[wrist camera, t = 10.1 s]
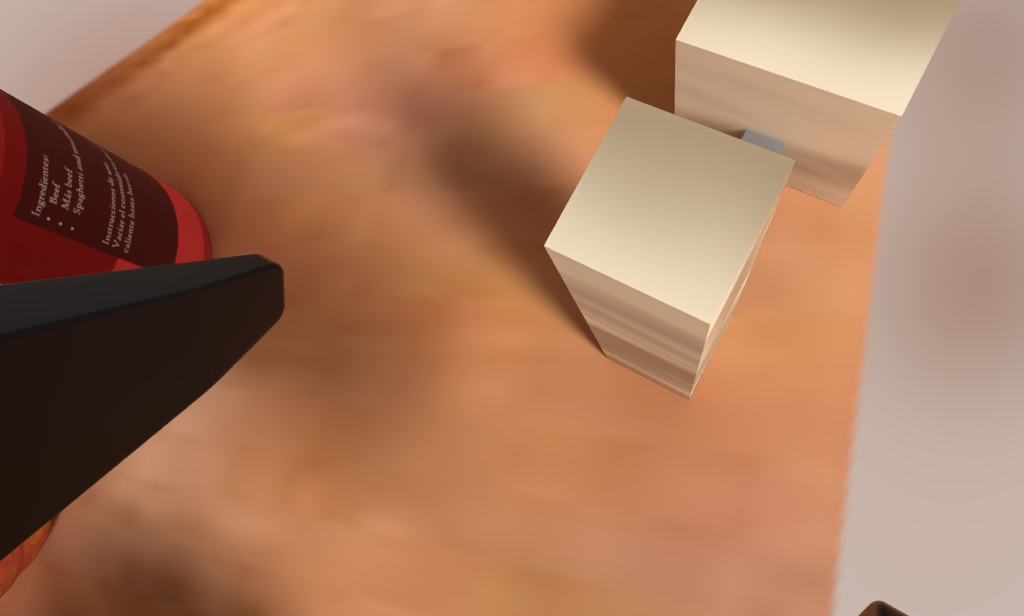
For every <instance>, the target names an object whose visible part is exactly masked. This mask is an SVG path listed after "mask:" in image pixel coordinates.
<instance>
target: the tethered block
mask: <svg viewBox="0 0 1024 616" xmlns="http://www.w3.org/2000/svg"><path fill="white" fill-rule="evenodd" d="M959 1H960V0H697V2H696V4H695V5H694V7H693V9H692V11H691V13H690V15H689V16H688V18H687V20H686V22H685V24H684V25H683V27H682V29H681V31H680V33H679V35H678V36H677V38H676V53H675V115H674V114H672V113H669V112H666V111H664V110H661V109H658V108H656V107H653V106H650V105H648V104H645V103H642V102H640V101H637V100H634V99H632V98H629V97H627V96H626V98H625V100H624V102H623V104H622V106H621V107H620V109H619V111H618V113H617V115H616V116H615V118H614V120H613V122H612V124H611V125H610V127H609V129H608V131H607V133H606V134H605V136H604V138H603V140H602V142H601V143H600V145H599V147H598V149H597V151H596V153H595V154H594V156H593V158H592V160H591V162H590V163H589V165H588V167H587V169H586V171H585V172H584V174H583V176H582V178H581V180H580V181H579V183H578V185H577V187H576V189H575V190H574V192H573V194H572V196H571V198H570V200H569V201H568V203H567V205H566V207H565V209H564V210H563V212H562V214H561V216H560V218H559V219H558V221H557V223H556V225H555V227H554V228H553V230H552V232H551V234H550V236H549V237H548V239H547V241H546V243H545V245H544V247H545V249H546V251H547V252H548V254H549V256H550V258H551V259H552V261H553V263H554V265H555V267H556V268H557V270H558V272H559V274H560V275H561V277H562V279H563V281H564V283H565V284H566V286H567V288H568V290H569V291H570V293H571V295H572V297H573V299H574V300H575V302H576V304H577V306H578V308H579V309H580V311H581V313H582V315H583V316H584V318H585V320H586V322H587V324H588V325H589V327H590V329H591V331H592V332H593V334H594V336H595V338H596V340H597V341H598V343H599V345H600V347H601V349H602V350H603V352H604V354H605V356H606V357H607V358H608V359H610V360H612V361H614V362H616V363H618V364H620V365H622V366H624V367H626V368H628V369H629V370H631V371H633V372H635V373H637V374H639V375H641V376H643V377H645V378H647V379H649V380H651V381H653V382H655V383H657V384H659V385H661V386H663V387H664V388H666V389H668V390H670V391H672V392H674V393H676V394H678V395H680V396H682V397H684V398H686V399H688V400H689V399H690V397H691V395H692V393H693V391H694V389H695V387H696V385H697V383H698V381H699V380H700V378H701V376H702V374H703V372H704V370H705V368H706V366H707V364H708V362H709V360H710V358H711V356H712V354H713V352H714V350H715V348H716V347H717V345H718V343H719V341H720V339H721V337H722V335H723V333H724V331H725V329H726V327H727V325H728V323H729V321H730V319H731V317H732V314H733V312H734V310H735V307H736V305H737V302H738V300H739V297H740V295H741V292H742V290H743V288H744V285H745V283H746V280H747V278H748V275H749V273H750V270H751V268H752V266H753V263H754V261H755V258H756V256H757V253H758V251H759V249H760V246H761V244H762V241H763V239H764V236H765V234H766V231H767V229H768V227H769V224H770V222H771V219H772V217H773V214H774V212H775V209H776V207H777V205H778V202H779V200H780V197H781V195H782V192H783V190H784V187H785V185H786V186H789V187H791V188H794V189H796V190H799V191H801V192H804V193H807V194H809V195H812V196H814V197H817V198H819V199H822V200H825V201H827V202H830V203H832V204H835V205H837V206H840V207H842V206H843V205H844V203H845V202H846V200H847V198H848V197H849V195H850V194H851V192H852V191H853V189H854V188H855V186H856V185H857V183H858V182H859V180H860V179H861V177H862V176H863V174H864V173H865V171H866V170H867V168H868V167H869V165H870V164H871V162H872V161H873V159H874V157H875V156H876V154H877V153H878V151H879V150H880V148H881V147H882V145H883V144H884V142H885V141H886V139H887V138H888V136H889V135H890V133H891V132H892V130H893V129H894V127H895V126H896V124H897V123H898V121H899V120H900V118H901V116H902V115H903V112H904V110H905V109H906V107H907V105H908V102H909V101H910V99H911V97H912V95H913V93H914V91H915V89H916V87H917V85H918V83H919V81H920V79H921V77H922V75H923V72H924V71H925V69H926V67H927V65H928V63H929V61H930V59H931V57H932V55H933V53H934V51H935V49H936V47H937V45H938V43H939V41H940V39H941V37H942V35H943V33H944V31H945V29H946V27H947V25H948V23H949V21H950V19H951V17H952V15H953V13H954V11H955V9H956V7H957V5H958V4H959Z"/></svg>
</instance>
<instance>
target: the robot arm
mask: <svg viewBox="0 0 1024 616" xmlns="http://www.w3.org/2000/svg"><path fill="white" fill-rule="evenodd" d="M284 307H285V299H284V272H283V269H282V267H281V266H280V265H279V264H278V263H276V262H274V261H272V260H271V259H269V258H267V257H265V256H263V255H260V254H251V255H243V256H235V257H227V258H218V259H210V260H202V261H194V262H185V263H177V264H169V265H161V266H152V267H144V268H136V269H127V270H119V271H111V272H103V273H94V274H86V275H78V276H70V277H61V278H53V279H45V280H37V281H28V282H20V283H12V284H4V285H0V561H1V560H3V559H4V558H5V557H6V556H7V555H9V554H10V553H11V552H12V551H13V550H15V549H16V548H17V547H18V546H20V545H21V544H22V543H23V542H24V541H26V540H27V539H28V538H29V537H30V536H32V535H33V534H34V533H35V532H37V531H38V530H39V529H40V528H41V527H43V526H44V525H45V524H46V523H48V522H49V521H50V520H51V519H52V518H54V517H55V516H56V515H57V514H58V513H60V512H61V511H62V510H63V509H65V508H66V507H67V506H68V505H69V504H71V503H72V502H73V501H74V500H75V499H77V498H78V497H79V496H80V495H82V494H83V493H84V492H85V491H86V490H88V489H89V488H90V487H91V486H93V485H94V484H95V483H96V482H97V481H99V480H100V479H101V478H102V477H103V476H105V475H106V474H107V473H108V472H110V471H111V470H112V469H113V468H114V467H116V466H117V465H118V464H119V463H120V462H122V461H123V460H124V459H125V458H127V457H128V456H129V455H130V454H131V453H133V452H134V451H135V450H136V449H138V448H139V447H140V446H141V445H142V444H144V443H145V442H146V441H147V440H148V439H150V438H151V437H152V436H153V435H155V434H156V433H157V432H158V431H159V430H161V429H162V428H163V427H164V426H165V425H167V424H168V423H169V422H170V421H172V420H173V419H174V418H175V417H176V416H178V415H179V414H180V413H181V412H183V411H184V410H185V409H186V408H187V407H189V406H190V405H191V404H192V403H193V402H195V401H196V400H197V399H198V398H200V397H201V396H202V395H203V394H204V393H205V392H206V391H208V390H209V389H210V388H211V387H212V386H213V385H214V384H215V383H216V382H217V381H219V380H220V379H221V378H222V377H223V376H224V375H225V374H226V373H227V372H228V371H229V370H230V369H231V368H232V367H233V366H234V365H235V364H236V363H237V362H238V361H239V360H240V359H241V358H242V357H243V356H244V355H245V354H246V353H247V352H248V351H249V350H250V349H251V348H252V347H253V346H254V345H255V344H256V343H257V342H258V341H259V340H260V339H261V338H262V337H263V336H264V335H265V334H266V333H267V332H268V331H269V330H270V329H271V328H272V327H273V326H274V325H275V324H276V323H277V321H278V320H279V319H280V317H281V316H282V314H283V311H284ZM859 616H908V615H906V614H905V613H903V612H901V611H899V610H897V609H896V608H893V607H892V606H890V605H888V604H887V603H885V602H883V601H875V602H873V603H871V604H870V605H869V606H868V607H867V608H866V609H865V610H864V611H863V612H862V613H861V614H860V615H859Z"/></svg>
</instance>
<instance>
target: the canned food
mask: <svg viewBox="0 0 1024 616" xmlns="http://www.w3.org/2000/svg"><path fill="white" fill-rule="evenodd" d="M210 259H212V250H211V242H210V238H209V234H208V230H207V228H206V226H205V224H204V222H203V220H202V218H201V217H200V215H199V214H198V213H197V212H196V210H195V209H194V208H193V207H192V205H191V204H190V203H189V202H188V201H187V199H186V198H185V197H184V196H183V195H182V194H180V193H179V192H177V191H176V190H175V189H173V188H172V187H170V186H168V185H167V184H165V183H163V182H161V181H160V180H158V179H156V178H154V177H153V176H151V175H149V174H147V173H146V172H144V171H142V170H140V169H139V168H137V167H135V166H134V165H132V164H130V163H128V162H127V161H125V160H123V159H121V158H120V157H118V156H116V155H114V154H113V153H111V152H109V151H107V150H106V149H104V148H102V147H100V146H99V145H97V144H95V143H93V142H92V141H90V140H88V139H86V138H85V137H83V136H81V135H79V134H78V133H76V132H74V131H72V130H71V129H69V128H67V127H65V126H64V125H62V124H60V123H58V122H57V121H55V120H53V119H51V118H50V117H48V116H46V115H44V114H43V113H41V112H39V111H38V110H36V109H34V108H32V107H31V106H29V105H27V104H25V103H24V102H22V101H20V100H18V99H16V98H15V97H13V96H11V95H10V94H8V93H6V92H4V91H3V90H1V89H0V285H4V284H12V283H20V282H28V281H37V280H45V279H53V278H61V277H70V276H78V275H86V274H94V273H103V272H111V271H119V270H127V269H136V268H144V267H152V266H161V265H169V264H177V263H185V262H194V261H202V260H210Z"/></svg>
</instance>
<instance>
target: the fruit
mask: <svg viewBox="0 0 1024 616" xmlns="http://www.w3.org/2000/svg"><path fill="white" fill-rule="evenodd" d="M50 526H51V520H50V521H49V522H48V523H46V524H45V525H44V526H43V527H41V528H40V529H39V530H38V531H37V532H35V533H34V534H33V535H32V536H30V537H29V538H28V539H27V540H26V541H24V542H23V543H22V544H21V545H20V546H18V547H17V548H16V549H15V550H13V551H12V552H11V553H10V554H9V555H7V556H6V557H5V558H4V559H3V560H1V561H0V598H1V597H2V596H3V594H4V593H5V592H6V591H7V590H8V589H9V588H10V587H11V586H12V584H13V583H14V581H15V579H16V578H17V576H18V575H19V574H20V573H21V572H22V571H23V570H24V569H25V568H26V567H27V566H28V565H29V564H30V563H31V562H32V561H33V560H34V559H35V557H36V556H37V554H38V553H39V551H40V550H41V548H42V547H43V545H44V544H45V542H46V539H47V537H48V534H49V530H50Z"/></svg>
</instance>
